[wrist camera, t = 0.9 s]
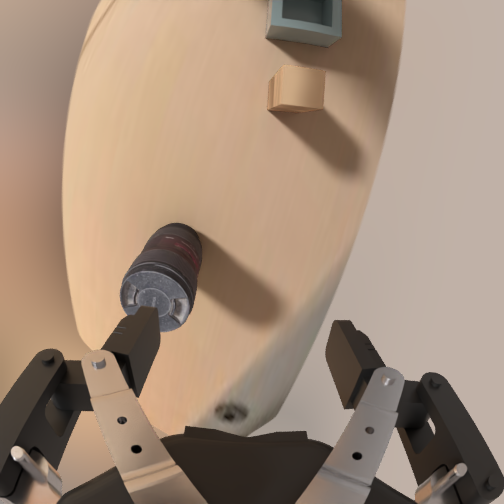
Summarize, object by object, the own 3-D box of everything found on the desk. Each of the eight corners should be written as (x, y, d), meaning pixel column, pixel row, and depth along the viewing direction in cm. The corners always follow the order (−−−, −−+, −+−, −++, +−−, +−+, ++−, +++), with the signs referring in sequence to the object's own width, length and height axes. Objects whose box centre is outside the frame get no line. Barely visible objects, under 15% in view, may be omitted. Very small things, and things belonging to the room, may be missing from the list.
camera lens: (209, 222, 39) (197, 278, 25) (200, 271, 42) (188, 340, 29) (154, 212, 37) (115, 262, 24) (150, 262, 41) (118, 325, 27)
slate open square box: (265, 38, 28) (270, 24, 23) (268, -9, 24) (274, -27, 19) (327, 47, 28) (341, 37, 23) (328, 1, 25) (341, -14, 20)
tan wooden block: (267, 109, 32) (281, 103, 22) (269, 81, 31) (283, 64, 21) (297, 112, 33) (323, 109, 23) (299, 85, 31) (325, 71, 21)
